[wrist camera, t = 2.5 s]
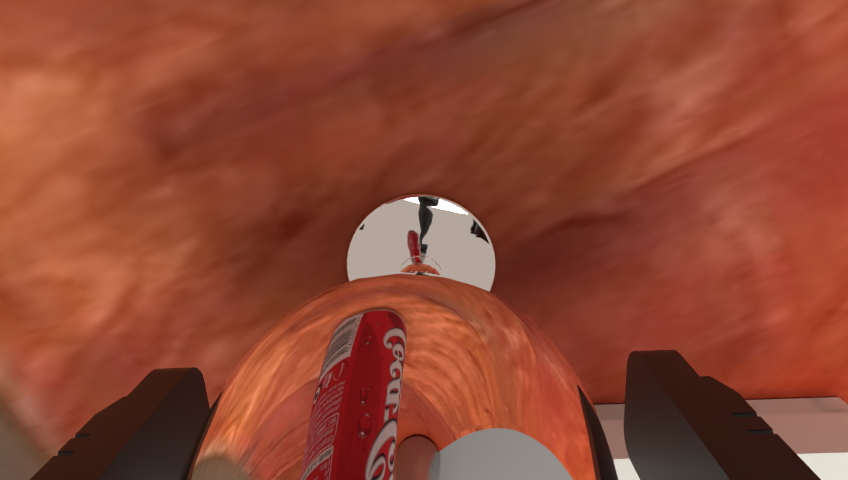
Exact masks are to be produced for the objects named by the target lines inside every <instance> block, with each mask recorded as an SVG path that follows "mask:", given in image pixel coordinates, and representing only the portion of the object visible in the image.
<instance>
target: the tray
mask: <svg viewBox="0 0 848 480" xmlns="http://www.w3.org/2000/svg"><path fill="white" fill-rule="evenodd" d="M745 401H746V402H747V403H748V404H749V405H750V406H751V407H752V408H753V409H754V410H755V411H756V412H757V416H761V417H762V418H763V419H764V420H765V422H766V423H767V424H768V425H769V426H770V427H771V428H772V429H773V433H774V434H778V435H779V436H780V437H781V438H782V439H783V440H784V441H785V442H786V443H787V445H788V446H789V447H790V448H791V449H792V450H793V451H794V452H795V453H796V454H797V455H798V456H799V457H800V458H801V459H802V460H803V461H804V462H805V463H806V464H807V465H808V466H809V467H810V469H811V470H812V471H813V472H814V473H815V474H816V475H817V476H818V477H819V478H820V479H821V480H848V404H846V403H845V402H844V401H843V400H842V399H840V398H839V397H827V398H796V399H764V400H745ZM594 407H595V409H596V411H597V413H598V416H599V419H600V422H601V425H602V427H603V430H604V433H605V436H606V439H607V441H608V444H609V447H610V450H611V453H612V455H613V458H614V461H615V464H616V468H617V471H618V475H619V478H620V480H640V479H639V477H638V475H637V473H636V471H635V469H634V467H633V465H632V463H631V461H630V458H629V456H628V452H627V449H626V444H625V438H624V409H625V404H608V405H594Z"/></svg>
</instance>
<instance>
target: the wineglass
mask: <svg viewBox="0 0 848 480" xmlns="http://www.w3.org/2000/svg"><path fill="white" fill-rule="evenodd" d="M346 264H347V276H348V280H349V282H346V283H344V284H341V285H338V286H335V287H333V288H331V289H329V290H327V291H325V292H323V293H321V294H319V295H317V296H315V297H313V298H311V299H309V300H307V301H305V302H304V303H302V304H301V305H299V306H298V307H297V308H295V309H294V310H292V311H291V312H290V313H288V314H287V315H286V316H284V317H283V318H282V319H281V320H280V321H279V322H278V323H277V324H276V325H274V326H273V327H272V328H271V329H270V330H269V331H268V332H267V333H265V334H264V335H263V337H262V338H261V339H260V340H259V341H258V342H257V343H256V344H255V345H254V346H253V348H252V349H251V350H250V351H249V352H248V353H247V354H246V355H245V357H244V358H243V359H242V361H241V362H240V363H239V365H238V366H237V367H236V369H235V370H234V372H233V373H232V374H231V376H230V377H229V379H228V380H227V382H226V383H225V385H224V386H223V388H222V390H221V391H220V393H219V395H218V397H217V398H216V400H215V402H214V404H213V405H212V407H211V409H210V411H209V412H208V414H207V416H206V418H205V420H204V422H203V424H202V426H201V428H200V430H199V432H198V435H197V437H196V439H195V442H194V444H193V446H192V449H191V451H190V453H189V456H188V458H187V460H186V463H185V465H184V467H183V470H182V472H181V474H180V477H179V479H178V480H620V478H619V475H618V471H617V468H616V464H615V461H614V458H613V455H612V453H611V450H610V447H609V444H608V441H607V439H606V436H605V433H604V430H603V427H602V425H601V422H600V419H599V416H598V413H597V411H596V409H595V407H594V405H593V403H592V401H591V399H590V397H589V395H588V393H587V391H586V389H585V387H584V386H583V384H582V382H581V381H580V379H579V377H578V375H577V374H576V372H575V371H574V369H573V368H572V367H571V365H570V364H569V363H568V361H567V360H566V359H565V358H564V356H563V355H562V354H561V352H560V351H559V350H558V348H557V347H556V346H555V344H554V343H553V342H552V340H551V339H550V338H549V337H548V336H547V335H546V334H545V333H544V332H543V331H542V330H541V329H540V328H539V327H538V326H537V325H536V324H535V323H534V322H533V321H531V320H530V319H529V318H528V317H527V316H526V315H525V314H523V313H522V312H521V311H520V310H519V309H517V308H516V307H514V306H513V305H511V304H510V303H508V302H506V301H505V300H503V299H502V298H500V297H499V296H497V295H496V294H494V293H492V292H491V290H492V286H493V283H494V279H495V276H496V256H495V251H494V246H493V243H492V241H491V239H490V236H489V234H488V232H487V230H486V229H485V227H484V226H483V225H482V223H481V222H480V221H479V219H478V218H477V217H476V216H475V215H474V214H472V213H471V212H470V211H469V210H468V209H467V208H465V207H463V206H462V205H460V204H458V203H457V202H455V201H453V200H450V199H447V198H444V197H442V196H437V195H431V194H409V195H404V196H400V197H397V198H395V199H392V200H390V201H387V202H385V203H382V204H381V205H380V206H378V207H377V208H376V209H374V210H373V211H371V212H370V213H369V214H367V216H366V217H365V218H364V219H363V221H362V222H361V223H360V224H359V225H358V227H357V228H356V230H355V232H354V234H353V236H352V239H351V241H350V243H349V248H348V253H347V258H346Z"/></svg>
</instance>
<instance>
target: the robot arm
mask: <svg viewBox="0 0 848 480" xmlns="http://www.w3.org/2000/svg"><path fill="white" fill-rule="evenodd" d="M209 411H210V408H209V403H208V398H207V393H206V388H205V383H204V378H203V375H202V373H201V371H200V370H199V369H198V368H195V367H192V368H166V369H155V370H153V371H151V372H150V373H149V374H148V375H147V376H146V377H145V378H144V379H143V380H142V381H141V382H140V383H139V384H138V386H137V387H136V388H135V389H134V390H133V391H132V392H131V393H130V394H129V395H128V396H127V397H123V398H121V399H119V400H118V401H116V402H115V403H113V404H111V405H110V406H108V407H107V408H105V409H103V410H102V411H100V412H98V413H97V414H95V415H94V416H93V417H92V418H91V419H90V420H89V421H88V422H87V423H86V424H85V425H84V426H83V427H82V428H81V429H80V430H79V431H78V432H77V433H76V434H75V435H76V436H75V438H72V439H70V440H69V441H68V442H67V443H66V444H65V445H64V446H63V447H62V448H61V449H60V450H59V451H58V456H53V457H52V458H51V459H50V460H49V461H48V462H47V463H46V464H45V465H44V466H43V467H42V468H41V469H40V470H39V471H38V472H37V473H36V474H35V475H34V476H33V477H32V478H31V479H30V480H178V479H179V477H180V474H181V472H182V470H183V467H184V465H185V463H186V460H187V458H188V456H189V453H190V451H191V449H192V446H193V444H194V442H195V439H196V437H197V435H198V432H199V430H200V428H201V426H202V424H203V422H204V420H205V418H206V416H207V414H208V412H209ZM624 438H625V444H626V449H627V452H628V456H629V458H630V461H631V463H632V465H633V467H634V469H635V471H636V473H637V475H638V477H639V479H640V480H821V479H820V478H819V477H818V476H817V475H816V474H815V473H814V472H813V471H812V470H811V469H810V467H809V466H808V465H807V464H806V463H805V462H804V461H803V460H802V459H801V458H800V457H799V456H798V455H797V454H796V453H795V452H794V451H793V450H792V449H791V448H790V447H789V446H788V445H787V443H786V442H785V441H784V440H783V439H782V438H781V437H780V436H779V435H778V434H774V433H773V429H772V428H771V427H770V426H769V425H768V424H767V423H766V422H765V420H764V419H763V418H762V417H761V416H757V412H756V411H755V410H754V409H753V408H752V407H751V406H750V405H749V404H748V403H747V402H746V401H745V400H744V399H743V398H742V396H741V395H740V394H739V393H738V392H736V391H734V390H733V389H731V388H729V387H727V386H726V385H724V384H722V383H721V382H719V381H717V380H715V379H714V378H712V377H710V376H703V377H700V376H699V375H698V374H697V373H696V372H695V371H694V370H693V368H692V367H691V366H690V365H689V364H688V363H687V362H686V360H685V359H684V358H683V357H682V356H681V355H680V354H679V353H678V352H677V351H676V350H656V351H633V352H631V353H630V355H629V358H628V363H627V377H626V393H625V409H624Z"/></svg>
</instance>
